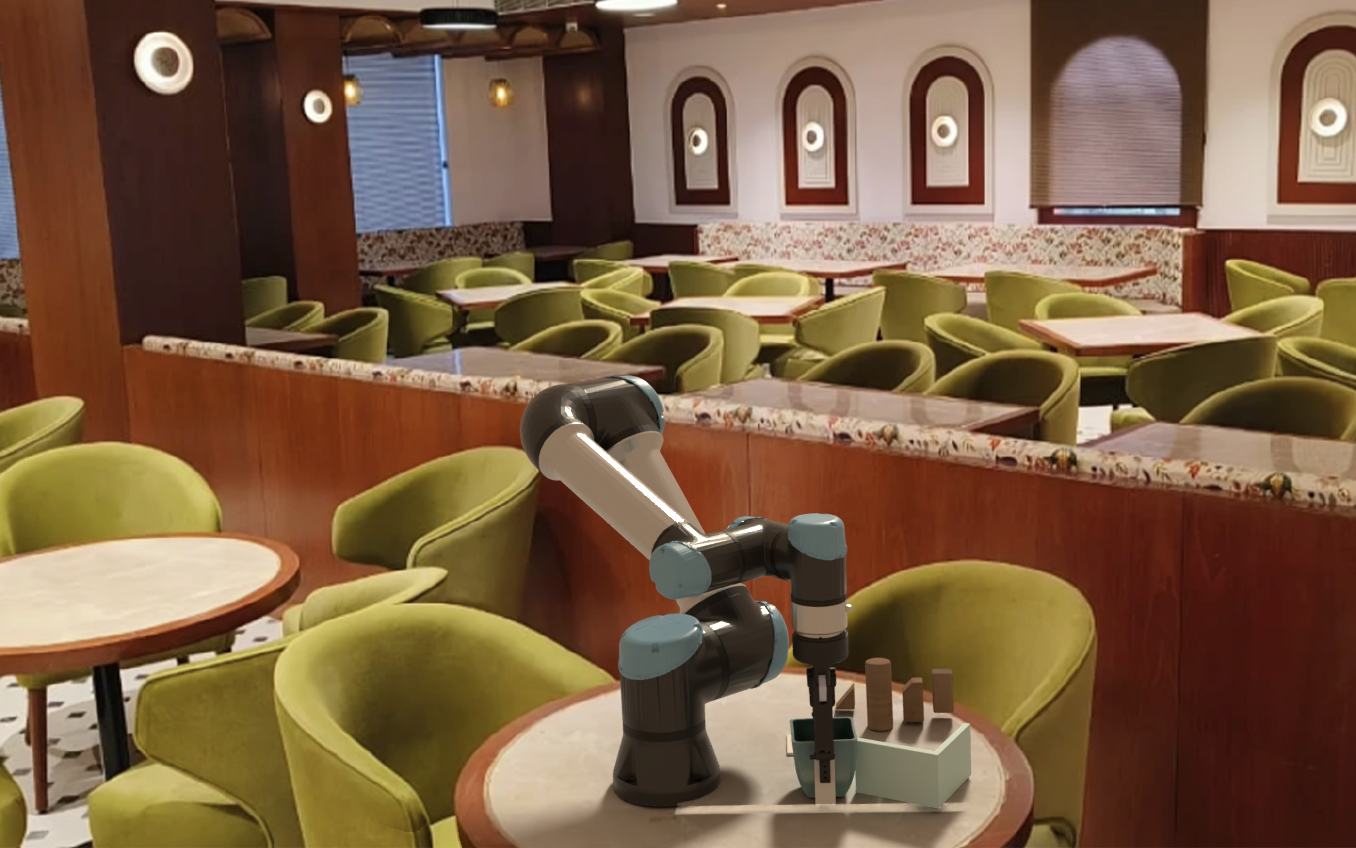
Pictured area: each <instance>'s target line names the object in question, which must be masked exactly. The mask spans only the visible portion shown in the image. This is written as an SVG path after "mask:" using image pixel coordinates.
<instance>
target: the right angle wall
mask: <svg viewBox="0 0 1356 848" xmlns="http://www.w3.org/2000/svg"><path fill="white" fill-rule="evenodd" d="M971 738H972V737H971V723H969V722H964V723H962V724H961V725H960V726H959V727H958V728H957V729H956V730H955V731H954V732H953V733H952V734H951V735H950V736H949V737H947V739H945V740H944V742H942V743H941V744H940V746H938V747H937V748H936V749H935V750H930V749H925V748H919V747H914V746H907V745H902V744H896V743H890V742H885V741H880V740H873V739H867V738H862V737H857V753H856V767H855V774H854V777H855V779H854V780H855V793H857V794H863V795H868V796H872V797H873V796H874V797H878V798H883V799H889V800H893V801H898V802H903V803H907V804H914V805H917V806H923V807H930V808H934V809H940V808H941V807H942V806H943V805H944V804H945V803H946V802H947V801H948V800H949V799H950V798H951V797H952V796H953V795H954V794H955V793H956V791H957V790H959V789H960V788H961V786H962V785H963V784H964V783H965V782H966V781H968V779H969V778H970V777H971V776H972V753H971V752H972V749H971V748H972V747H971V746H972V745H971V742H972V741H971V740H972V739H971Z"/></svg>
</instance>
